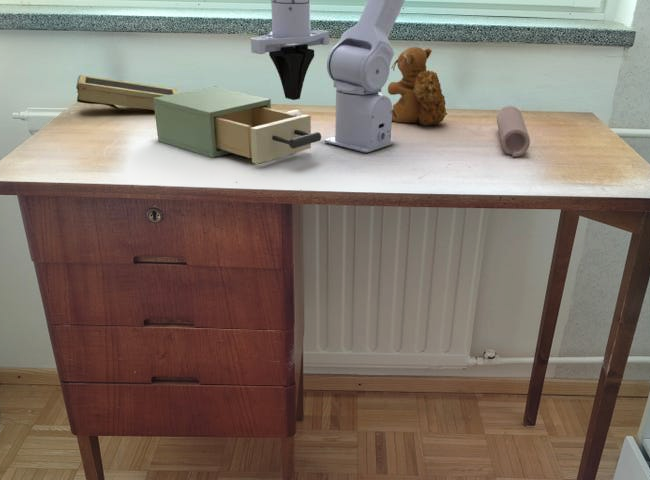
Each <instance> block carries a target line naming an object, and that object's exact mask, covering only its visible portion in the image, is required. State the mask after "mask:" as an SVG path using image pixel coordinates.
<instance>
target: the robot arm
mask: <svg viewBox="0 0 650 480" xmlns="http://www.w3.org/2000/svg"><path fill="white" fill-rule="evenodd" d="M405 1H406V0H367V1H366V3H365V6H364V8H363V9H362V13H361V15H360V17H359V19H358V22H357V23H356V24H355V25H353V26H351V27H350V28H348V29H347V30H345V31H344V32H343V33H342V35H341V37H340V39H339V40H338V42H337V44H336V45H333V47H332V48H331V50H330V51H329V52H328V56H327V60H326V70H327V75H328V76H329V78H330V80H331V81H333V88H334V89H335V122H334V123H335V124H334V125H335V127H334V128H335V129H334V131H335V132H334V133H335V134H334V136H332V137H328V138H325V139H324V143H327V144H331V145H334V146H338V147H341V148H346V149H350V150H354V151H357V152H361V153H365V154H367V153H370V152H374V151H376V150H379V149H382V148H386V147H388V146H391V145H394V141H393V140H391V139H392V123H393V121H392V110H393V104H392V101H391V99H390V97H388V96H386V95H384V94H382V93H381V92H382V88H383V87H384V86H385V85H386V83H387V81H388V79H389V75H390V70H391V64H392V63H391V62H392V60H393V58H394V55H395V51H394V48H393V46H392V44H391V43H390V40H389V36H390V34H391V32H392V30H393V28H394V25H395V23H396V21H397V19H398V16H399V14H400V12H401V9H402V7H403V5H404V3H405ZM270 3H271V4H270V5H271V31H269V33H268V34H264V35H261V36H257V37H250V51H251V53H253V54H256V55H257V54H258V55H265V54H266V53H268V56H269V58H270V60H271V62H272V63H273V65H274V66H275V67H274V68H275V69H276V71H277V73H278V76H279V79H280V82H281V87H282V90H283V94H284V97H285V99H287V100H292V101H296V100H301V95H302V90H303V86H304V82H305V78H306V75H307V73H308V70H309V68H310V65H311V63H312V61H313V59H314V58H315V49H313V48H309V47H313V46H320V45H322V46H328V45H330V31H329V30H324V29H314V30H313V29H312V30H311V0H270Z"/></svg>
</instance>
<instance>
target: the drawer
mask: <svg viewBox="0 0 650 480" xmlns="http://www.w3.org/2000/svg"><path fill="white" fill-rule="evenodd" d="M287 112H288V111H282V110H278V109H274V108H271V109H270V108H266V107H262V106H260V107H256V108H251V109H247V110H242V111H238V112H233V113H229V114H224V115H220V116H215V117H214V128H215V141H216V148H218V149H221V150H225V151H228V152H231V153H232V154H235V155H238V156H242V157H244V158H245V157H246V158H248V159H250V158H251V163H253V164H255V165H259V164H263V163H266V162H270V161H272V160H276V159H279V158H283V157H286V156H289V155H294V154H296V153H298V152H303V151H306V150H310V149H311V148H312V144H314V143H318V142H320V141H321V140H322V135H321V133H320V132H319V131H315V132H311V131H312V129H311V128H312V125H311V123H312V119H311V118H312V116H311V114H306V113H305V114H302V115H300V116H296V115H295V114H291V113H287ZM231 153H230V154H231Z"/></svg>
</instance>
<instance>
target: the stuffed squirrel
mask: <svg viewBox="0 0 650 480" xmlns="http://www.w3.org/2000/svg"><path fill="white" fill-rule="evenodd" d="M432 52H433V50H432V49H431V48H430V47H429V48H425V49H423V48H421V47H418V46H410V47H408V48H406V49H405V50H403V51H402V52H401V53H400V54H399V55H398V58H397V59H396V60H395V61H394V62H393V64H392V65H391V67H390V70H391V69H392V71H393V72H395V67H396V66H397V68H398V70H399V71H400V73H401V76H402V77H401V79H400V80H399V81H393V82H392V81H391V82H390V83H389V84H388V86H387V93H388V95H391V96H396V95H400V97H399V99H398V101H397V102H396V103H394V104H392V122H396V123H404V124H407V123H408V124H415V123H418V124H419V125H421V126H427V127H428V126H432V125H433V126H434V125H439V124H440V123H441V122H443V121H444V119H445V117H446V116H447V115H448V114H449V113H447V111H446V110H447V109H446V99H445V95H444V94H443V92H442V91H443V89H442V88H441V82H440V80H439V76H438V73H437V72H435V71H433V70H429V69H427V60H428V59H429V58H430V56H431V54H432Z"/></svg>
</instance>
